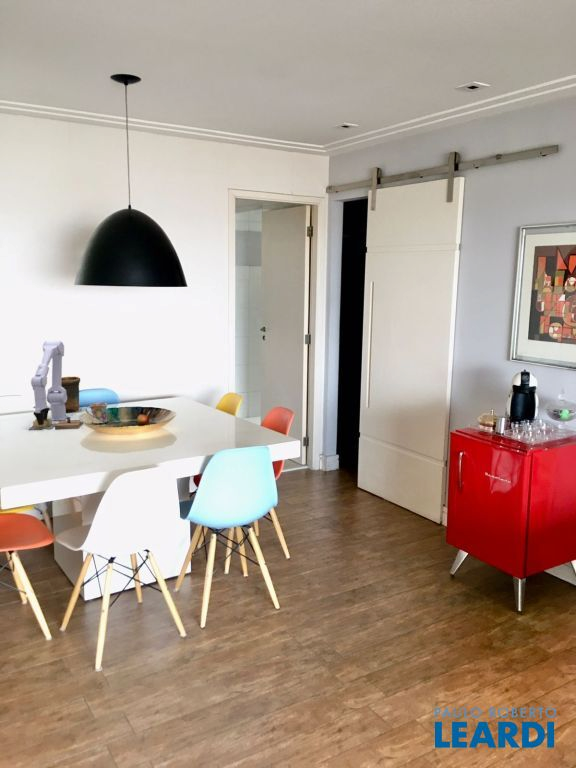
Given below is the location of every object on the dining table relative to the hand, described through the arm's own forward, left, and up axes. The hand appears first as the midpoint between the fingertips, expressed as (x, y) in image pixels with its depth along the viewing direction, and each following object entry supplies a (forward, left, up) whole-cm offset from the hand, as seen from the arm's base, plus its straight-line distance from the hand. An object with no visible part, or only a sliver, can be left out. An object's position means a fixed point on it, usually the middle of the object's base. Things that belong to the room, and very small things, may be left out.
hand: (42, 423), depth 357 cm
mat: (0, 0, -2) cm, 2 cm away
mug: (-4, +28, -2) cm, 28 cm away
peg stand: (+1, +14, -2) cm, 14 cm away
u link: (0, 0, -2) cm, 2 cm away
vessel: (-39, +6, -2) cm, 40 cm away
